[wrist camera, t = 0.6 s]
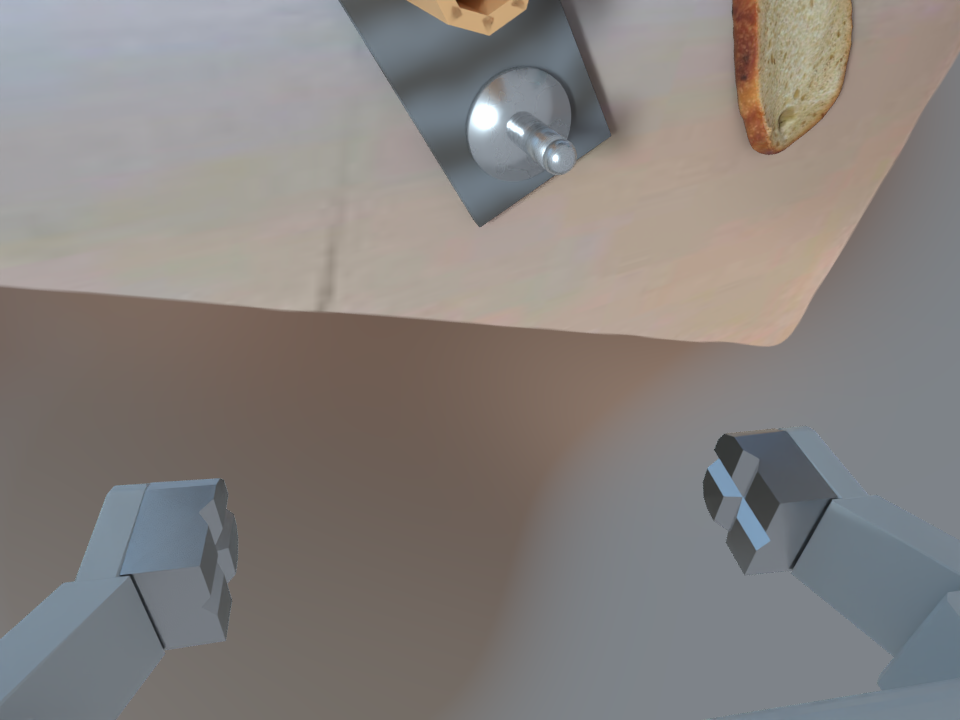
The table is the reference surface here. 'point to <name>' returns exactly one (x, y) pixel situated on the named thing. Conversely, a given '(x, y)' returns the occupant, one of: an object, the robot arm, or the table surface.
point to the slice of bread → (788, 65)
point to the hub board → (488, 96)
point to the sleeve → (473, 12)
